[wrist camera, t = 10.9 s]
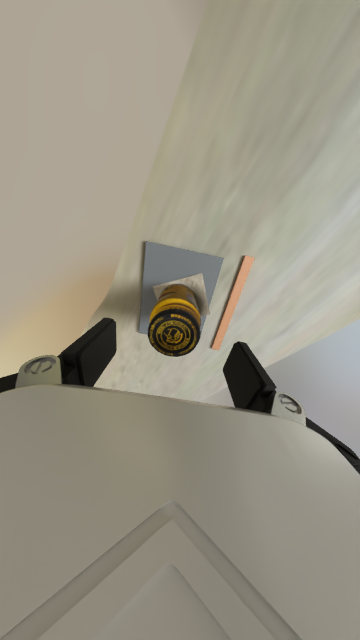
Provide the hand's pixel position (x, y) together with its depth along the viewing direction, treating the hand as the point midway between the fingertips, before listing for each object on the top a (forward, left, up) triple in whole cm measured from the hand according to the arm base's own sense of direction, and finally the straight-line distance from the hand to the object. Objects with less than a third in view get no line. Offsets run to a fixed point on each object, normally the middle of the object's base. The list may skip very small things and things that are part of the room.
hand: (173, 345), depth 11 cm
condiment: (0, +1, -15) cm, 14 cm away
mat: (+1, 0, -15) cm, 15 cm away
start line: (+1, +10, -15) cm, 18 cm away
